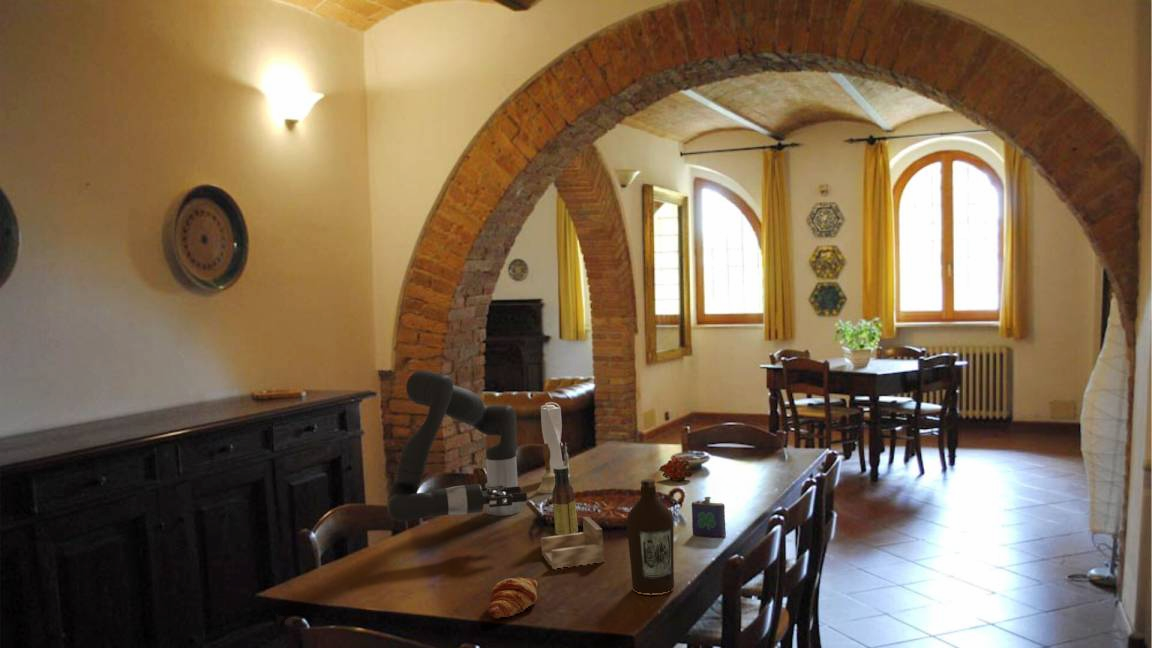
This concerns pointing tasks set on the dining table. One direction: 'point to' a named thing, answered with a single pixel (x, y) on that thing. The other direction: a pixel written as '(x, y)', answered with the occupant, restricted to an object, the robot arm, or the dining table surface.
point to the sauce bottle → (564, 503)
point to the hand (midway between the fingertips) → (523, 493)
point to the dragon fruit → (677, 469)
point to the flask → (708, 519)
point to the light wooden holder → (575, 547)
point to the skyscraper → (553, 434)
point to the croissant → (512, 596)
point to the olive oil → (651, 542)
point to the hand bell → (547, 474)
